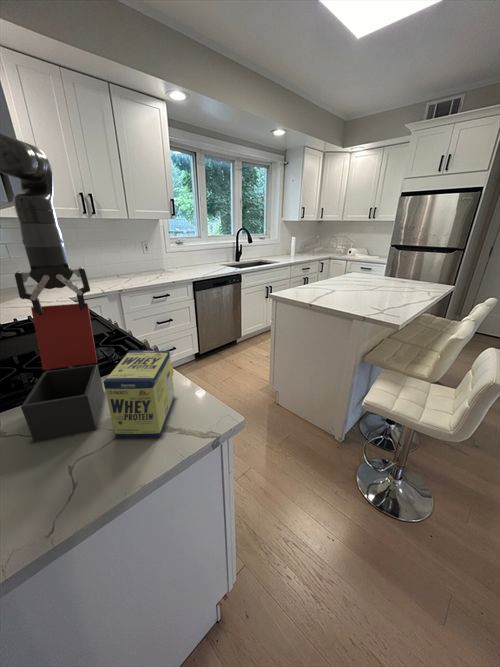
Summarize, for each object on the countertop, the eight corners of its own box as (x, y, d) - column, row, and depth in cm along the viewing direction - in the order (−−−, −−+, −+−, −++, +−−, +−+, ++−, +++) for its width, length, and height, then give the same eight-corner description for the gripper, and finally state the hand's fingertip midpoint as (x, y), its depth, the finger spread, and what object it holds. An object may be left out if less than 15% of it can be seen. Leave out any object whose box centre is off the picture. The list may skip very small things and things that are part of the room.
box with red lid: (96, 429, 66) (87, 395, 63) (34, 442, 63) (20, 406, 59) (104, 393, 80) (97, 364, 76) (53, 402, 76) (43, 371, 72)
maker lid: (87, 303, 73) (87, 303, 74) (30, 307, 69) (32, 307, 70) (96, 363, 76) (97, 362, 76) (42, 370, 72) (44, 369, 73)
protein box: (115, 439, 64) (101, 381, 58) (138, 399, 78) (129, 349, 72) (160, 439, 64) (152, 381, 58) (175, 398, 78) (170, 349, 72)
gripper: (79, 242, 70) (92, 303, 76) (6, 244, 63) (27, 312, 69) (81, 244, 64) (95, 311, 70) (2, 246, 57) (25, 321, 63)
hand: (61, 311), depth 70 cm, fingers open, 8 cm apart
